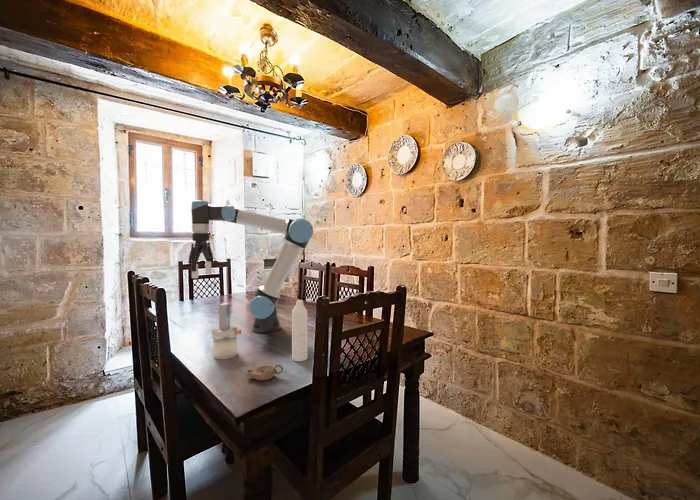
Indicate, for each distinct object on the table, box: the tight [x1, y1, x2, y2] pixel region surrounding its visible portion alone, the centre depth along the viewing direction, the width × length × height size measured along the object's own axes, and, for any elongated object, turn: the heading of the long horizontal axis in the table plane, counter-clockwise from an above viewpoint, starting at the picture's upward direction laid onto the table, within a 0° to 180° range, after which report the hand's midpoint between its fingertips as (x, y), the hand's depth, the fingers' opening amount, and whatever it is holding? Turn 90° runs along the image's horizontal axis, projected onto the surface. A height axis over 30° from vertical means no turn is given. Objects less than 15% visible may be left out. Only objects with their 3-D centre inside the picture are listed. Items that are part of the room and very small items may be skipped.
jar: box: [212, 336, 238, 360], centre depth 133 cm, size 10×10×8 cm
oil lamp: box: [246, 363, 284, 382], centre depth 113 cm, size 13×8×5 cm, turn 89°
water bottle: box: [291, 298, 313, 363], centre depth 129 cm, size 9×6×25 cm
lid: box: [211, 302, 242, 340], centre depth 133 cm, size 12×10×14 cm
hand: (202, 276), depth 151 cm, fingers open, 13 cm apart
